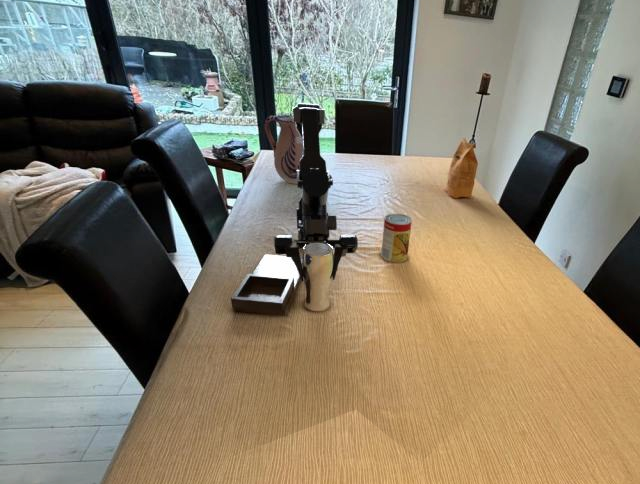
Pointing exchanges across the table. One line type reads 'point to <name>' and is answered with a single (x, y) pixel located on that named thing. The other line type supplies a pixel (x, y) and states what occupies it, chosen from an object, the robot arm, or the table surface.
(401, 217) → the canned food
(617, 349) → the table surface
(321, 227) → the robot arm
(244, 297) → the dark rectangular tray
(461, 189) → the coffee package
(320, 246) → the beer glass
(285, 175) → the ceramic pitcher
